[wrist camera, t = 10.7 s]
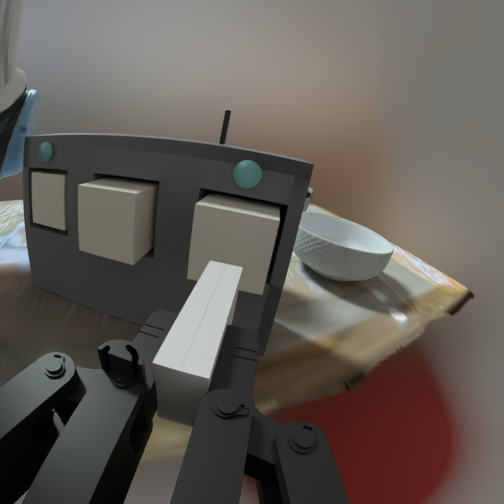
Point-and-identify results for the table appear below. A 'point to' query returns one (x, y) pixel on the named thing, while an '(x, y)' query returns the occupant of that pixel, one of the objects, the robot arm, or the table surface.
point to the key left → (50, 198)
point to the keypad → (159, 220)
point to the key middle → (117, 218)
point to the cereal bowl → (340, 248)
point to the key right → (234, 238)
